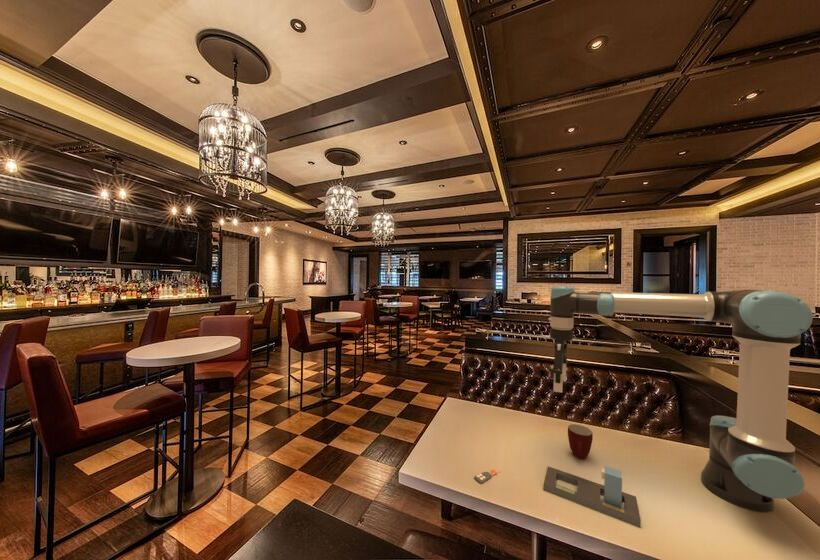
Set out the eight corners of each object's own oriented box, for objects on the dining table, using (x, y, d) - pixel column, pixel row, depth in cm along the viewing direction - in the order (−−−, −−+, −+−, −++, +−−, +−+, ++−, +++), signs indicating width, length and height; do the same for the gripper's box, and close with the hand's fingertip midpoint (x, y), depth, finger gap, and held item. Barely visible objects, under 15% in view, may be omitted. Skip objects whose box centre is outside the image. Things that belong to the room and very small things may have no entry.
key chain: (481, 486, 91) (481, 482, 91) (473, 479, 94) (473, 475, 94) (507, 472, 98) (507, 467, 98) (498, 466, 101) (499, 462, 101)
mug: (595, 469, 100) (596, 441, 100) (569, 463, 103) (569, 435, 103) (589, 452, 109) (590, 426, 109) (566, 447, 112) (566, 422, 112)
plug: (620, 503, 85) (621, 470, 84) (621, 513, 81) (622, 478, 81) (600, 496, 87) (601, 464, 87) (601, 505, 84) (601, 472, 84)
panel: (635, 503, 85) (636, 495, 85) (640, 527, 77) (640, 519, 76) (547, 471, 98) (547, 465, 98) (543, 489, 90) (543, 482, 90)
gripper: (554, 322, 117) (553, 374, 117) (545, 332, 96) (543, 394, 96) (575, 324, 113) (574, 377, 113) (570, 335, 92) (568, 400, 92)
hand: (560, 385), depth 105 cm, fingers open, 13 cm apart
